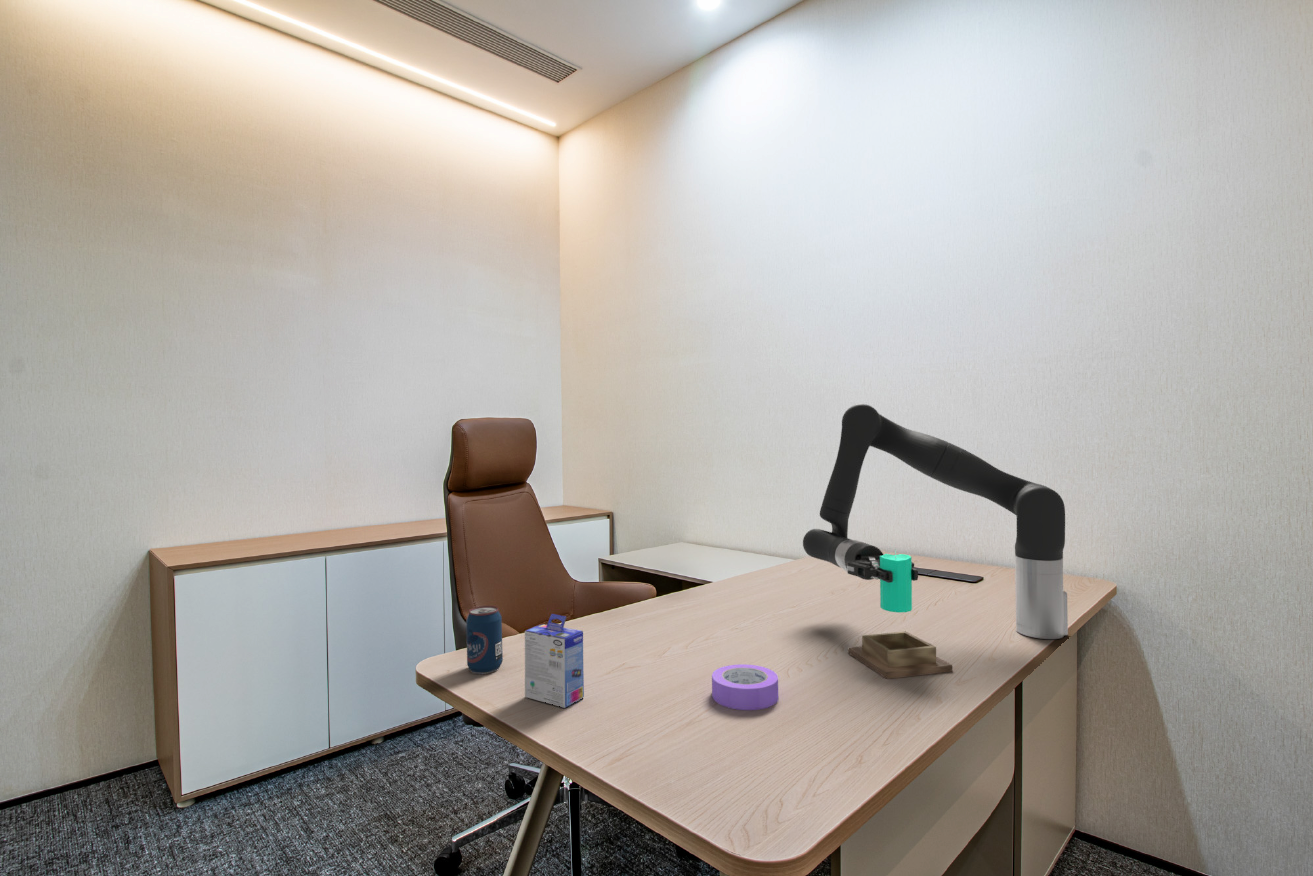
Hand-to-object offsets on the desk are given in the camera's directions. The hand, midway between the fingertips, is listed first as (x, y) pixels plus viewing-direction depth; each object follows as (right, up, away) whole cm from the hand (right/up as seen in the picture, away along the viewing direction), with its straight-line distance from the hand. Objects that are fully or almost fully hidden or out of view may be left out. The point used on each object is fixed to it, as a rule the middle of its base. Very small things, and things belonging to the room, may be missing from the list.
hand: (903, 576), depth 125 cm
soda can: (-83, -20, +4) cm, 86 cm away
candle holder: (0, -18, +2) cm, 18 cm away
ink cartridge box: (-67, -20, -11) cm, 70 cm away
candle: (0, -7, +3) cm, 8 cm away
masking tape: (-33, -19, -12) cm, 40 cm away
